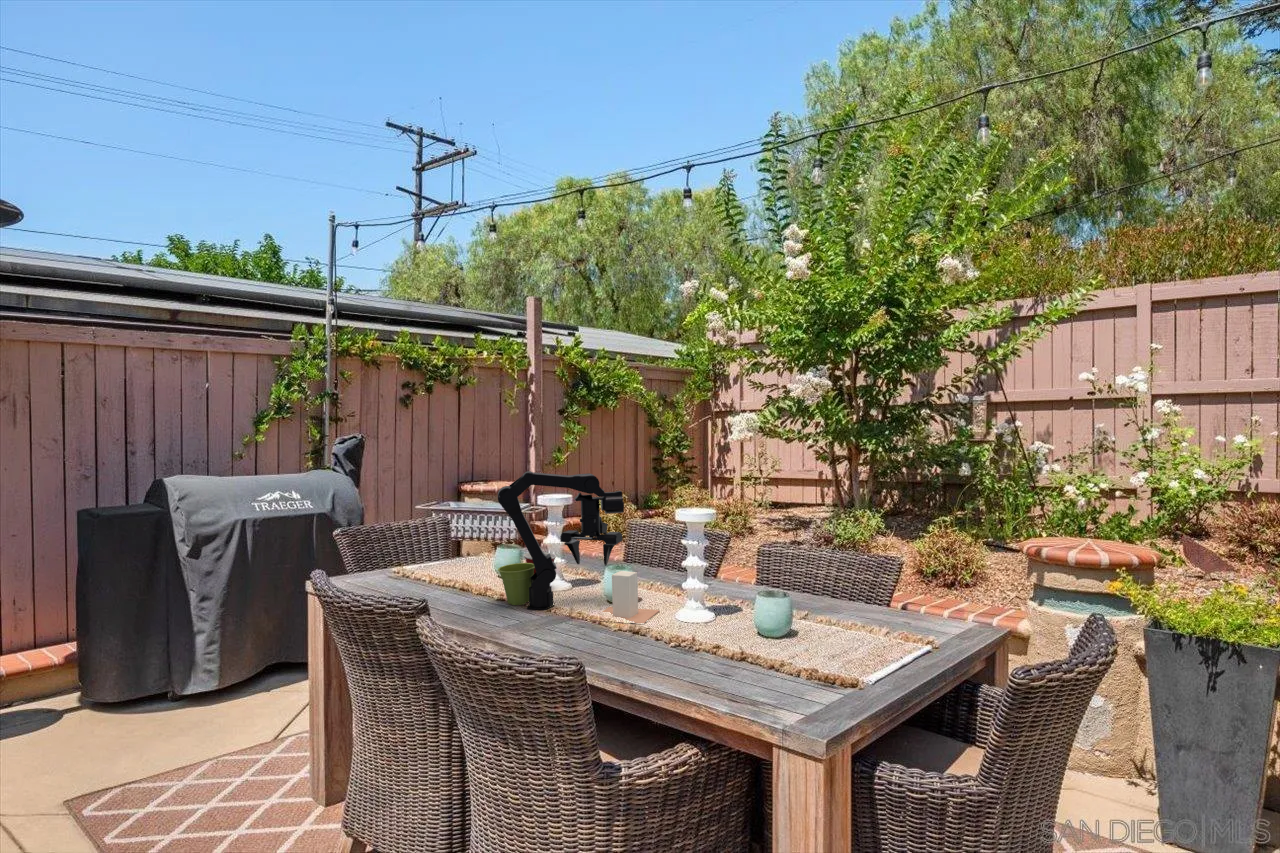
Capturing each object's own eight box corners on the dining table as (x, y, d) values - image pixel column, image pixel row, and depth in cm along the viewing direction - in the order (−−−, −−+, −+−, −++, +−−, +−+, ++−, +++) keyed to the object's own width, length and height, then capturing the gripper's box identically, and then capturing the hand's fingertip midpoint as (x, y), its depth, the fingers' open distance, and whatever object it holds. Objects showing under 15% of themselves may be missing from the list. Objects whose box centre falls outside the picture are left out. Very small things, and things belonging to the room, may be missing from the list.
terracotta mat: (590, 620, 226) (590, 619, 226) (609, 608, 239) (609, 606, 239) (643, 624, 220) (643, 623, 220) (659, 611, 234) (659, 610, 234)
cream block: (613, 616, 228) (611, 575, 228) (621, 611, 233) (620, 571, 233) (630, 618, 226) (628, 576, 226) (638, 613, 231) (637, 572, 230)
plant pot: (496, 601, 251) (494, 566, 251) (532, 595, 256) (530, 561, 256) (504, 609, 240) (502, 573, 240) (542, 603, 245) (540, 567, 245)
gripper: (627, 511, 248) (629, 560, 249) (573, 510, 255) (575, 558, 255) (614, 516, 238) (616, 568, 239) (558, 515, 244) (560, 565, 245)
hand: (592, 564), depth 245 cm, fingers open, 9 cm apart
